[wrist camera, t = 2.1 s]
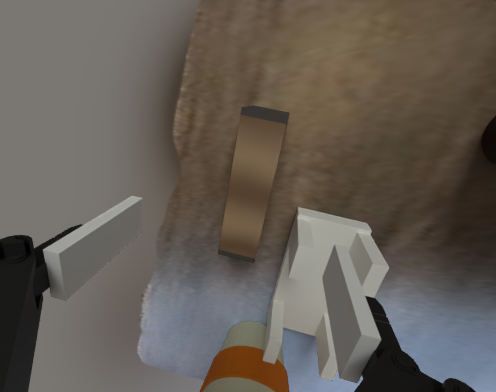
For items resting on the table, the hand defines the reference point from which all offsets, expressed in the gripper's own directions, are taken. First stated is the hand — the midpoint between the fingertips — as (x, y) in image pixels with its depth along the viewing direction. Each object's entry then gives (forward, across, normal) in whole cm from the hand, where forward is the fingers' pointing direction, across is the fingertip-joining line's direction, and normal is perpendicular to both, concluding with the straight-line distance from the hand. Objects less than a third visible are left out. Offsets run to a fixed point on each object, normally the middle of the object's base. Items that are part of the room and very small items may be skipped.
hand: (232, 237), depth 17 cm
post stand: (+15, +10, -12) cm, 21 cm away
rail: (+15, 0, 0) cm, 15 cm away
